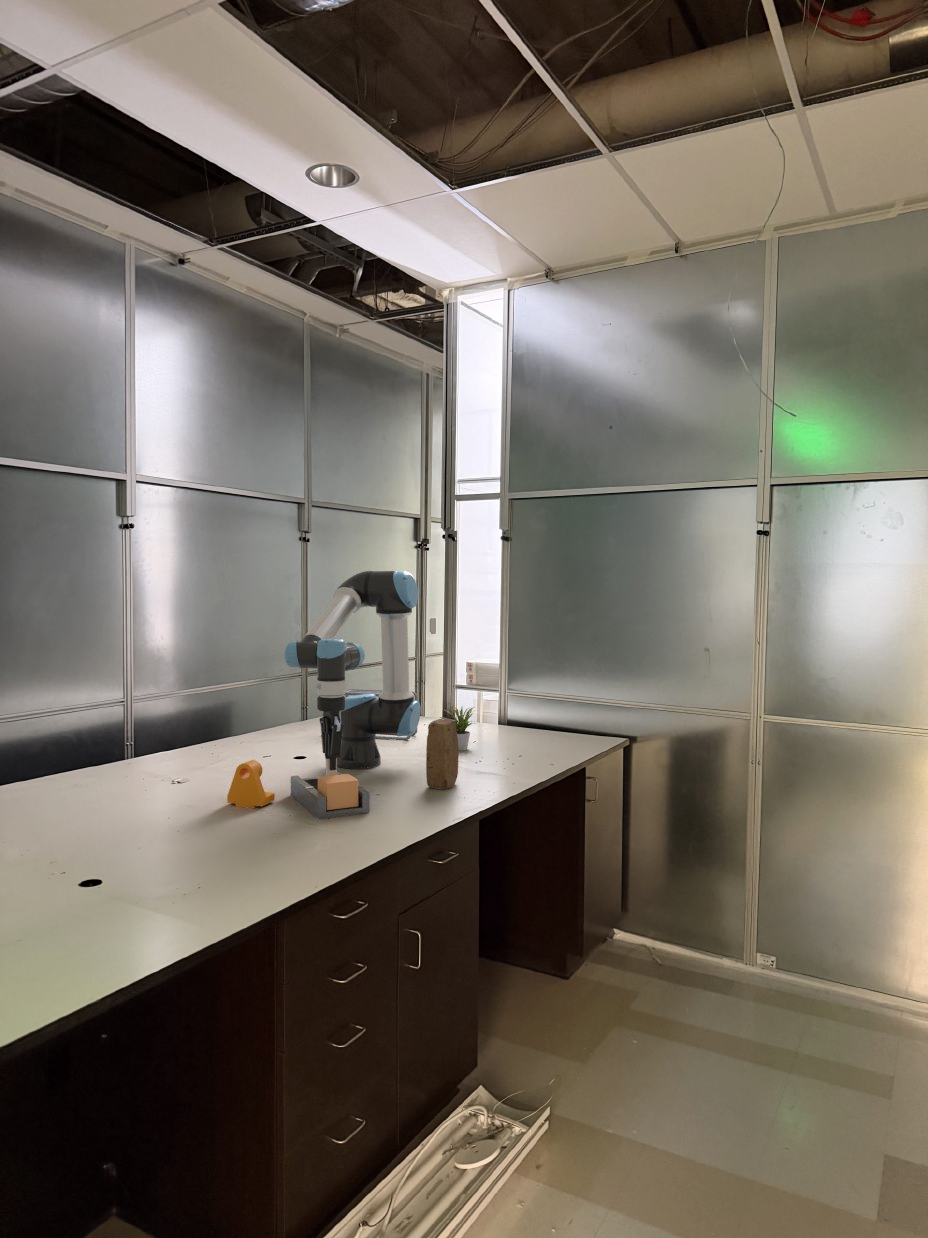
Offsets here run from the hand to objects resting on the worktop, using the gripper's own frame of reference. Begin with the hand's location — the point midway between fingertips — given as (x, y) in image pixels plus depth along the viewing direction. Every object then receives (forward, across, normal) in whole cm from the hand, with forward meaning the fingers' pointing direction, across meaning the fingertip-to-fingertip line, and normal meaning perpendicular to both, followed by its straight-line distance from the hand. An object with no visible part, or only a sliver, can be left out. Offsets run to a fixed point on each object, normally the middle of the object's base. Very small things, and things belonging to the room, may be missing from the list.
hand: (331, 781), depth 225 cm
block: (+7, -5, +37) cm, 38 cm away
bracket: (+7, -11, -19) cm, 23 cm away
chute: (+7, -2, 0) cm, 7 cm away
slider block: (+5, +6, 0) cm, 8 cm away
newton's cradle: (+8, -86, +48) cm, 98 cm away
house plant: (+7, -51, +67) cm, 85 cm away
